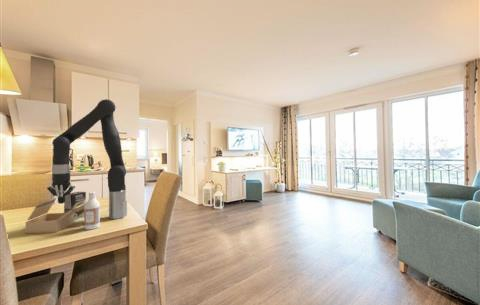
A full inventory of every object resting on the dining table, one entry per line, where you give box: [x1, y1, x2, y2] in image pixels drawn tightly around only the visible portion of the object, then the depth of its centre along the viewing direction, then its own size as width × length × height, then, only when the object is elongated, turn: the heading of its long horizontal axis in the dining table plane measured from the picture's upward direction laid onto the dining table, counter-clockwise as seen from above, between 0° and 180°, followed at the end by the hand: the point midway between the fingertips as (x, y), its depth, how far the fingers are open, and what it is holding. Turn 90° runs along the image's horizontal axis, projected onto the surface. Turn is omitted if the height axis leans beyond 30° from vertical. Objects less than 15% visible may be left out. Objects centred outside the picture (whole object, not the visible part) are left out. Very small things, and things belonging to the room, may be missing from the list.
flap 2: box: [59, 203, 86, 219], centre depth 112 cm, size 1×12×10 cm
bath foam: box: [83, 191, 101, 231], centre depth 111 cm, size 7×7×20 cm
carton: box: [25, 212, 75, 235], centre depth 111 cm, size 14×14×6 cm
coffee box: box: [63, 191, 87, 221], centre depth 126 cm, size 9×6×16 cm
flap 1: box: [27, 197, 57, 221], centre depth 110 cm, size 1×12×10 cm
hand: (61, 203), depth 111 cm, fingers closed
